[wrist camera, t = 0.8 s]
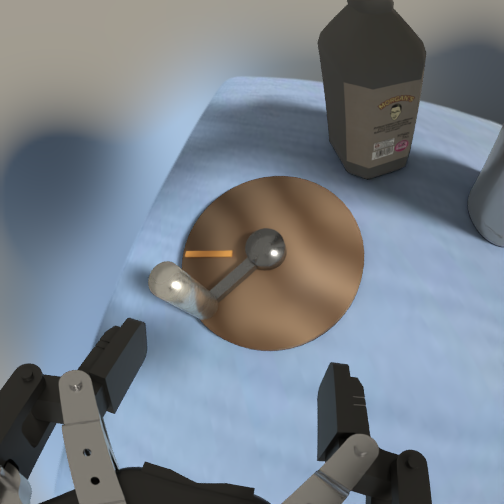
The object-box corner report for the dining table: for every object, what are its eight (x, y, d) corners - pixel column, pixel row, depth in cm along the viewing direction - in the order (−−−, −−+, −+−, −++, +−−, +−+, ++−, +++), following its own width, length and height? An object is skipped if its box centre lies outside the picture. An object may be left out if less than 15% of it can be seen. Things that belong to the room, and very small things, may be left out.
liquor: (416, 166, 35) (446, -75, 8) (353, 187, 36) (333, -83, 9) (382, 119, 39) (376, -92, 12) (324, 136, 40) (281, -88, 14)
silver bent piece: (269, 228, 35) (247, 179, 27) (294, 252, 33) (279, 206, 25) (185, 302, 34) (139, 274, 26) (206, 330, 32) (162, 309, 24)
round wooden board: (278, 157, 41) (275, 149, 39) (400, 257, 32) (403, 251, 30) (159, 259, 39) (152, 254, 37) (259, 390, 30) (256, 391, 28)
